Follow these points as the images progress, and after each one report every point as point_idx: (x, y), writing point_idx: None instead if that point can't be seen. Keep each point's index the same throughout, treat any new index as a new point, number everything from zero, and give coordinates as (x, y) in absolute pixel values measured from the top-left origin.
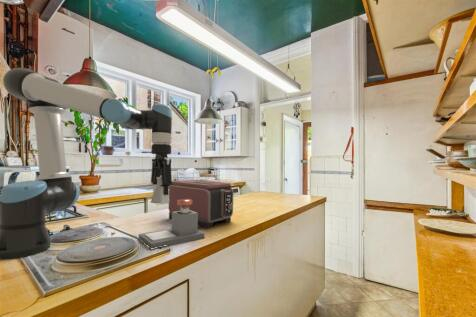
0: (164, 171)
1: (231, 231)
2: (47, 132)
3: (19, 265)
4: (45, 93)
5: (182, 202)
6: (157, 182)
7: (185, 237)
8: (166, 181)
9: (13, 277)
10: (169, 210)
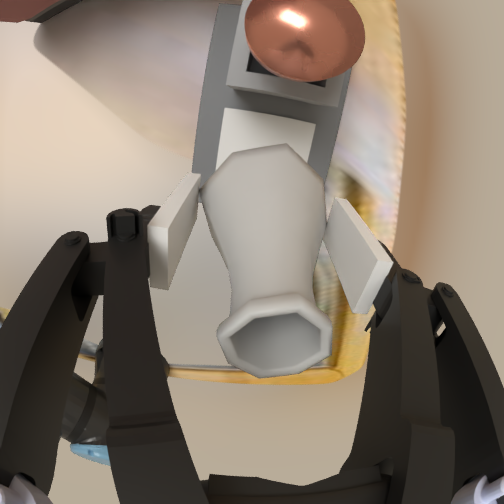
0: (447, 422)
1: None
2: None
3: (204, 372)
4: None
5: (337, 74)
6: (267, 327)
7: (343, 104)
8: (438, 340)
9: (247, 379)
10: (25, 19)
